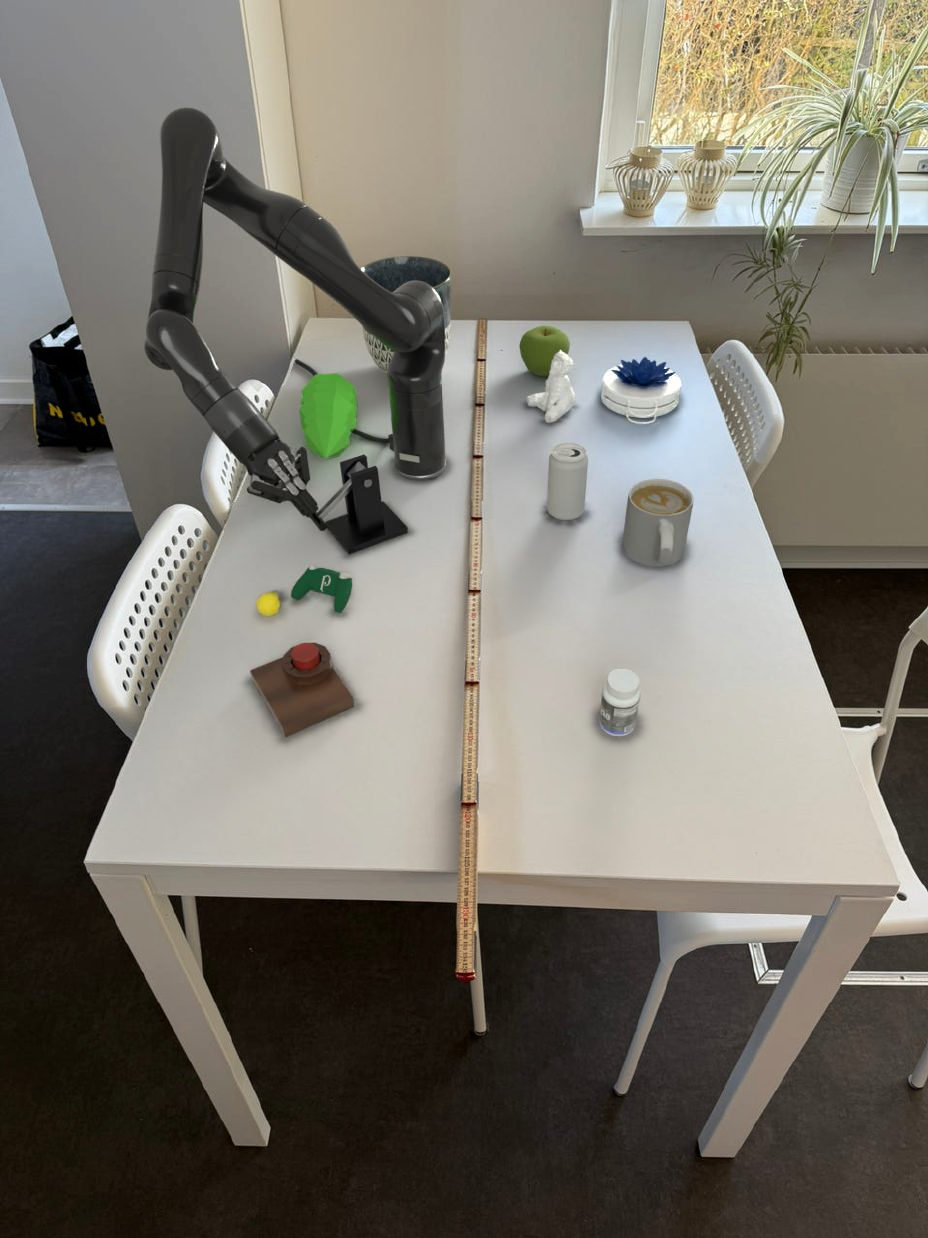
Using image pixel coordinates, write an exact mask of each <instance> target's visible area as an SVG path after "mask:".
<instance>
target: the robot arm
mask: <svg viewBox="0 0 928 1238" xmlns="http://www.w3.org/2000/svg"><path fill="white" fill-rule="evenodd" d="M159 146H160V157H161V158H160V160H161V191H160V192H161V196H160V207H159V208H160V209H159V219H158V226H157V227H158V228H157V235H156V241H155V251H154V257H153V265H152V273H151V281H150V283H151V284H150V304H149V309H148V315H147V320H146V323H145V327H144V334H143V335H144V336H143V350H144V352H145V356H146V357H147V359H148V360H149V361H150V363H152V365H154V366H155V367H157V368H159V369H161V370H165V371H173V372H174V374H175V375H176V376H177V378H178V379H179V381H180V383H181V387H182V390H183V393H184V395H185V396H186V397H187V399H188V400H189V402H190V403H191V404H192V405H193V406H194V407H195V409H196V410H197V411H198V413H199V414H200V415H201V416H202V417H203V418H204V420H205V421H206V422H207V424H208V426H209V427H210V429H211V430H212V431H213V433H214V434H215V435H216V436H217V437H218V439H219V440H220V441H221V442H222V443H223V444H224V446H225V447H226V448H227V449H228V450H229V452H230V453H231V454H232V455H233V456H234V458H235V459H236V460H237V461H238V462H239V463H240V464H242V465H243V466H244V467H245V469H246V471H247V474H248V476H249V477H250V481H249V485H248V486H247V487H246V492H247V493H248V494H249V495H252V496H255V497H258V498H262V499H263V500H268V501H269V502H270V501H271V502H273V503H277V504H282V503H285V502H290V503H291V504H292V505H293V506H294V508H295V509H296V510H297V511H298V512H299V513H300V515H301V516H303V517H306V518H310V516H311V515H312V514H314V513H315V512H318V511H319V504H318V502H317V501H316V499H315V498H314V497H313V495H311V493H310V492H309V491H308V489H307V484H308V483H309V482H310V481H311V474H310V473H311V472H310V466H309V459H308V457H309V456H308V451H307V447H304V446H300V447H299V448H292V447H290V446H289V444H287V442H284V441H282V440H281V439H280V436H279V433H278V432H277V430H276V429H275V428H274V427H273V425H272V424H271V423H270V422H269V421H268V419H267V418H266V417H265V416H264V415H263V413H262V412H261V411H260V410H259V409H258V408H257V406H256V405H255V404H254V402H252V400H251V399H250V398H249V397H248V396H247V395H246V394H245V393H243V392H242V390H241V389H240V388H239V387H238V385H236V383H235V382H234V381H233V380H232V379H231V378H230V377H229V375H228V374H227V373H226V371H224V370H223V368H222V367H221V366H220V365H219V363H218V361H217V359H216V358H215V355H214V354H213V352H212V350H211V349H210V347H209V346H208V343H206V341H205V339H204V338H203V336H202V334H201V333H200V331H199V330H198V328H197V327H196V326H195V325H194V316H195V315H194V314H195V309H196V305H197V301H198V298H199V293H200V288H201V280H202V279H201V278H202V272H203V271H202V270H203V258H204V227H203V226H204V221H203V219H204V217H203V216H204V204H205V205H206V206H209V207H210V208H212V209H214V210H215V211H217V212H218V213H220V214H221V215H223V216H225V217H226V218H228V219H229V220H231V221H232V222H233V223H234V224H236V225H237V226H238V227H239V228H241V229H242V230H243V231H244V232H245V233H247V234H248V235H249V236H250V237H252V238H253V239H254V240H256V241H257V242H258V243H260V244H261V245H262V246H264V247H265V248H266V249H267V250H268V251H270V252H271V253H272V254H274V256H276V257H277V258H278V259H279V260H281V261H282V262H284V263H285V264H286V265H287V266H289V268H291V269H293V270H294V271H296V273H299V274H300V275H301V276H302V277H304V278H305V279H307V280H308V281H309V282H311V283H312V284H313V285H314V286H316V287H317V288H318V289H320V290H321V291H322V292H323V293H324V294H325V295H327V296H328V297H329V298H331V299H332V300H333V301H335V302H336V303H337V304H338V305H340V306H341V307H342V308H343V309H344V310H345V311H346V312H348V314H350V315H351V317H353V318H354V319H355V320H356V321H357V322H358V323H359V324H360V325H361V326H362V325H363V326H364V327H365V328H366V329H367V330H368V331H369V332H370V333H371V334H372V335H373V336H374V337H376V338H377V339H378V340H379V341H380V342H381V343H383V344H384V345H385V346H387V347H388V348H390V349H391V350H393V351H394V353H393V356H392V358H391V360H390V363H389V365H388V369H387V373H386V375H387V387H388V396H389V397H388V398H389V408H390V415H391V416H390V421H391V431H392V433H390V434H388V435H387V436H388V437H386V438H382V437H377V436H374V435H371V434H369V433H366V432H363V431H361V430H359V429H357V428H355V429H354V430H353V431H352V432H351V434H354V435H356V436H358V437H361V438H364V440H368V441H371V442H376V443H380V444H386V445H387V444H388V447H389V449H390V450H391V451H392V452H393V453H394V454H393V455H394V461H395V462H394V467H395V471H396V473H397V474H398V475H399V476H401V477H402V478H404V479H407V480H412V481H428V480H432V479H434V478H436V477H438V476H440V475H442V474H443V473H444V472H445V471H446V469H447V459H446V442H445V422H444V420H445V418H444V399H443V378H442V372H443V368H444V365H445V359H446V355H445V315H444V309H443V305H442V302H441V299H440V297H439V295H438V294H437V292H436V291H435V290H434V289H433V288H432V287H431V286H430V285H429V284H427V283H425V282H422V281H409V282H406V283H404V284H403V285H401V286H400V287H399V288H397V289H396V290H395V291H393V292H392V293H391V292H389V291H388V290H386V289H384V288H383V287H382V286H380V285H379V284H377V283H376V282H375V281H373V280H372V279H371V278H370V277H368V276H367V275H366V274H365V273H364V272H363V271H362V270H361V269H360V268H361V267H359V265H358V264H357V262H356V261H355V259H354V257H353V255H352V254H351V251H350V250H349V248H348V246H347V244H346V242H345V241H344V239H343V237H342V235H341V234H340V232H339V231H338V229H336V228H335V227H336V226H334V225H333V224H332V223H331V222H330V221H329V220H327V219H326V218H324V216H322V215H321V214H319V213H318V212H317V211H316V210H314V209H313V208H311V207H310V206H309V205H308V204H306V203H305V202H303V201H302V200H300V199H298V198H297V197H295V196H292V195H290V194H285V193H282V192H279V191H275V190H271V189H268V188H265V187H262V186H259V185H258V184H256V183H255V182H253V181H252V180H250V179H249V178H248V177H247V176H245V175H244V174H243V173H242V172H240V171H239V170H238V169H237V168H235V166H233V164H232V163H231V162H230V161H228V159H226V157H225V155H224V151H223V146H222V140H221V136H220V133H219V130H218V128H217V126H216V125H215V123H214V122H213V120H212V119H211V118H210V116H209V115H207V114H206V113H205V112H203V110H201V109H198V108H195V107H188V106H187V107H186V106H184V107H179V108H176V109H174V110H172V111H171V112H169V113H168V114H167V115H166V116H165V118H164V119H163V121H162V123H161V126H160V129H159ZM294 363H295V364H296V365H298V366H299V367H301V368H303V369H305V370H307V371H308V372H309V373H310V374H311V375H312V377H314V375H318V374H319V373H318V372H317V371H316V370H315V369H314V368H312V367H311V366H310V365H308V364H307V363H305V362H303V361H301V360H299V359H295V360H294Z"/></svg>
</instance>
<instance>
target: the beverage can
mask: <svg viewBox="0 0 928 1238" xmlns="http://www.w3.org/2000/svg"><path fill="white" fill-rule="evenodd" d="M588 467H589V457H588V455H587V449H586V448H585V447H584V446H583V445H580V444H579V443H578V444H577V443H572V442H564V443H559V444H557V445H555V446H554V447H552V449H551V452H550V454H549V457H548V470H547V471H548V472H547V496H546V511H547V513H548V514H549V515H550V516H552V517H553V518H554V519H557V520H559V521H573V520H575V519H577V518H579V517H581V516H582V515H583V513H584V512H585V508H586V507H585V506H586V494H587V482H588V481H587V478H588Z"/></svg>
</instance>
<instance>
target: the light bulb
mask: <svg viewBox="0 0 928 1238" xmlns="http://www.w3.org/2000/svg"><path fill="white" fill-rule="evenodd" d="M280 596H281V593H280V591H279V590H277V589H273V590H272V591H271V592H265V593H263V594H262V595H260V596H259V597H257V601H256V608H257V610H258V613H259V614H261V615H263V616H264V617H272V616H274V615H275V614H277V613H278V612H279V611H280V607H281V601H280Z"/></svg>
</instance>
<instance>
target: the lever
mask: <svg viewBox="0 0 928 1238" xmlns="http://www.w3.org/2000/svg"><path fill="white" fill-rule="evenodd" d="M363 469H366V468H365V467H364V466H363V465H362V464H361V463H360V462H358V463H357V464H356V465H355V466H354V467H353V468H352V469H351V470H350V471H349V472H348V473H347V475H348V476H349V477H350V479H349V480H348V481H347V482H346V483H345V484H344V485H343V484H342V486H341V487H340V488H339V490H337V492H335V494H333V496H332V497H331V498H330V499H329V500H327V502H326V503H325V504H324V505H323V506H322V507H321V508H320V509H318V510H317V511H316V512H315V513H314V514H312V515H311V516H310V517H309V519H310V520H311V521H312V523H313V524H314V525H315V526H316V527H317V529H318V530H319V531H320V532H324V531H326V530H328V528H327V524H326V521H325V520H324V519H325V518H326V517H327V516H328V515H329V514H330V513H331V512H332V511H333V510H334V509H335V508H336V507H337V505H338V504H340V503H341V501H343V500H344V499H345V496H346V495H347V494H348V493H349V492H350V491H351V490H352V482H351V473H354V472H357V471H360V470H363Z"/></svg>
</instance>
